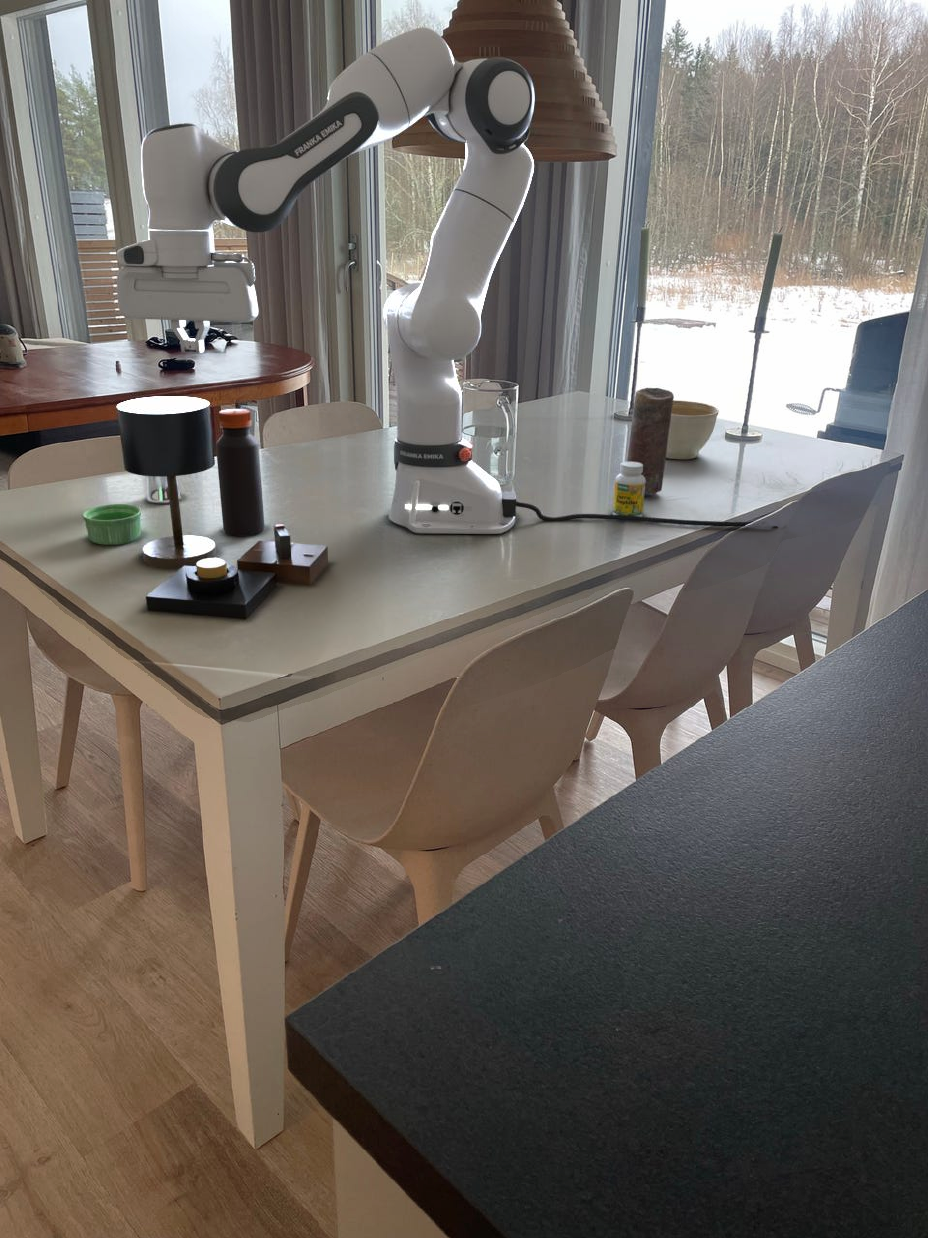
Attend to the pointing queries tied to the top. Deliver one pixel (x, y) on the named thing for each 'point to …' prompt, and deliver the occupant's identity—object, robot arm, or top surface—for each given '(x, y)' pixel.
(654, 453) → the candle
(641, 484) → the supplement bottle
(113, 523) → the ramekin
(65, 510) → the top surface
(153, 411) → the table lamp
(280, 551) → the dimmer knob
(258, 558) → the block
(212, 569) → the lamp button
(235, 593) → the switch block
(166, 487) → the beer glass
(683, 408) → the planter bowl
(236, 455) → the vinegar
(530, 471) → the top surface
